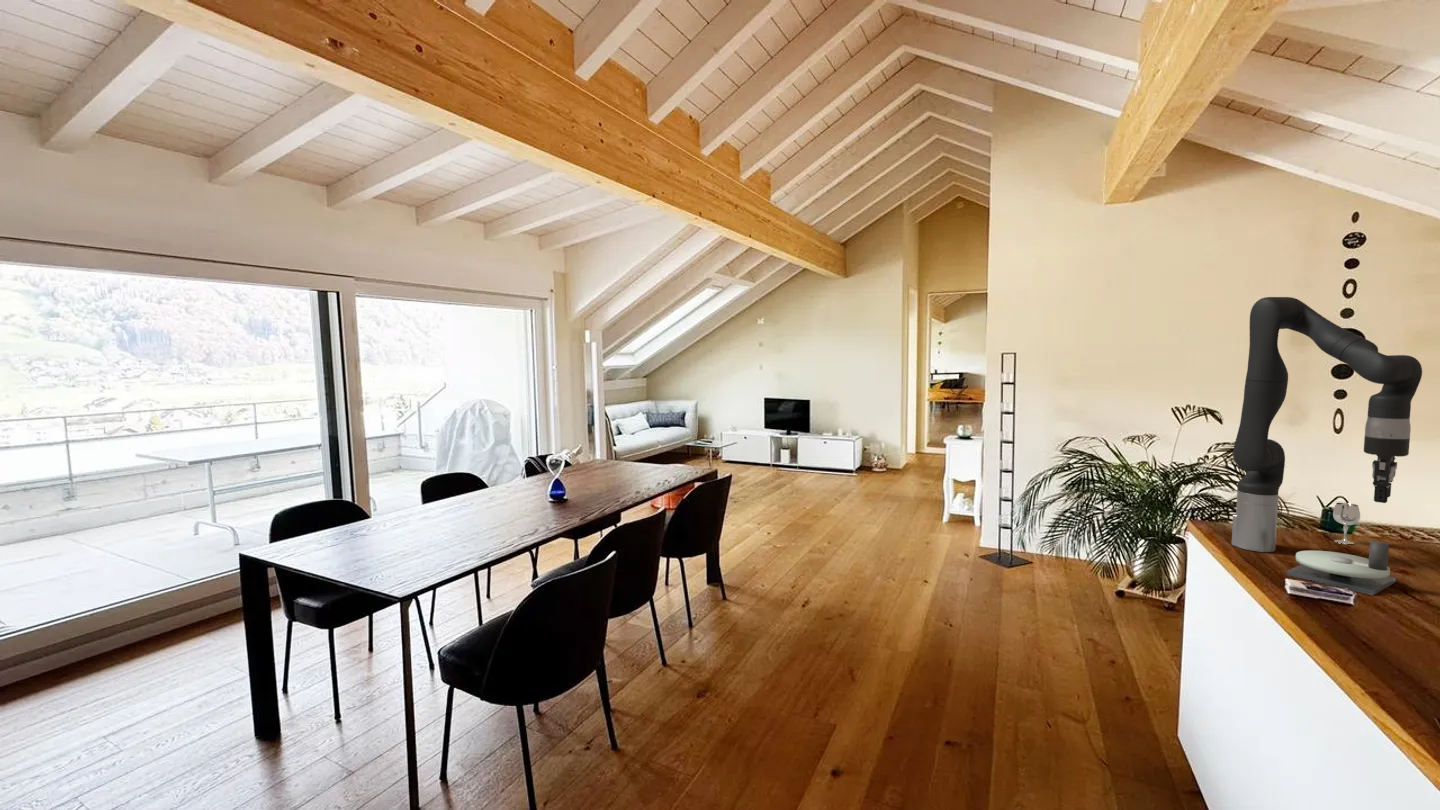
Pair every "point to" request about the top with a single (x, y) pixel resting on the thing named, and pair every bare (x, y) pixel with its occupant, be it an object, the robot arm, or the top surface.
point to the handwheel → (1349, 562)
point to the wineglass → (1346, 517)
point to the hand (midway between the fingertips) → (1382, 499)
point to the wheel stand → (1342, 580)
